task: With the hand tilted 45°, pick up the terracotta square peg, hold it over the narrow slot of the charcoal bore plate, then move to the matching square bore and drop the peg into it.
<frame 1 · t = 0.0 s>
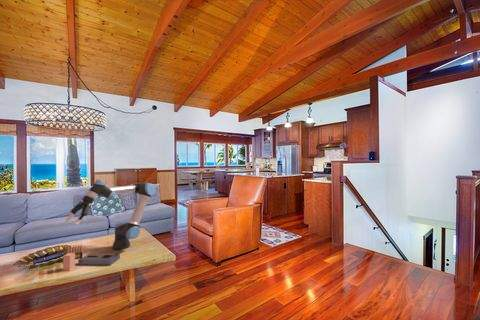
hand: (71, 222, 165), 36 cm above the table, tool tilted 35°, fingers open, 13 cm apart
bore plate: (99, 261, 180), on the table
ammunition clip: (74, 259, 185), on the table
square peg: (69, 268, 167), on the table
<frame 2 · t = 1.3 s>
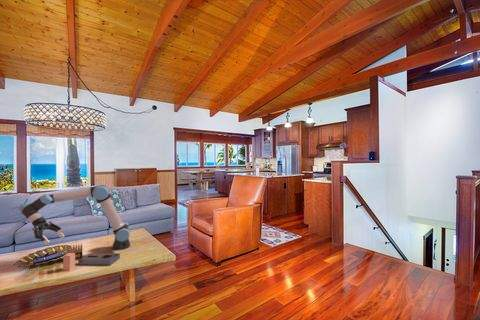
hand: (56, 240, 168), 22 cm above the table, tool tilted 45°, fingers open, 13 cm apart
nothing on the table moved.
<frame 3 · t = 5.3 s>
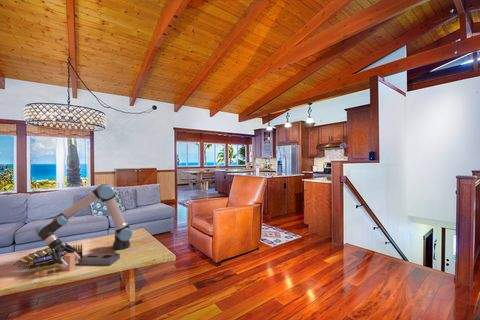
hand: (72, 262, 168), 5 cm above the table, tool tilted 45°, fingers open, 12 cm apart
nothing on the table moved.
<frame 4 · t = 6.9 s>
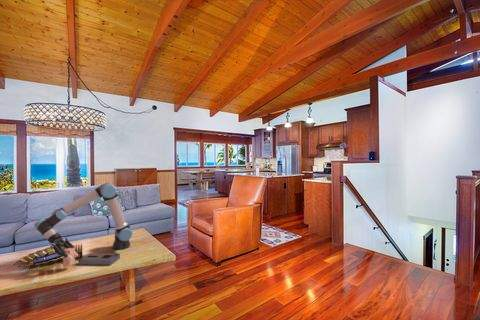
hand: (73, 257, 167), 8 cm above the table, tool tilted 45°, fingers closed on square peg, 5 cm apart
square peg: (69, 263, 167), point 4 cm above the table, touching gripper
everything else where it was.
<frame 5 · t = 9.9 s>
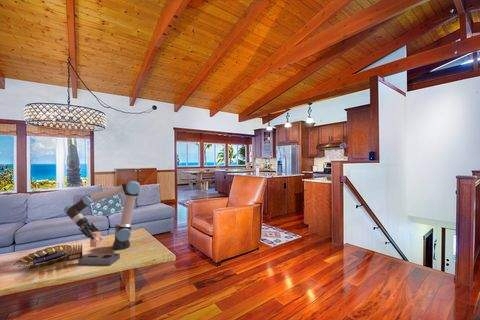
hand: (99, 240, 180), 17 cm above the table, tool tilted 45°, fingers closed on square peg, 5 cm apart
square peg: (95, 246, 180), point 13 cm above the table, touching gripper
everything else where it was.
when the fingers open (9 cm above the table, at t = 12.9 s): square peg drops 4 cm, resting in bore plate.
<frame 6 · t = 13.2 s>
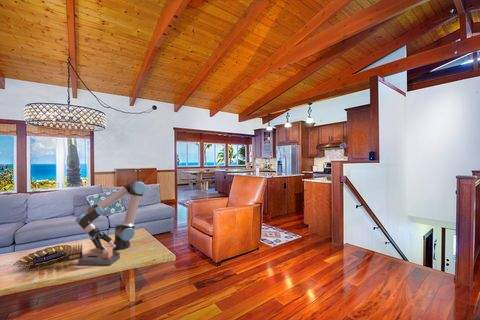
hand: (110, 249, 180), 10 cm above the table, tool tilted 45°, fingers open, 9 cm apart
square peg: (107, 261, 180), resting in bore plate
everything else where it was.
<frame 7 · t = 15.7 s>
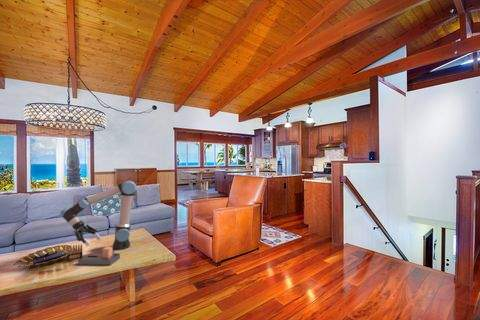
hand: (94, 242, 181), 16 cm above the table, tool tilted 45°, fingers open, 13 cm apart
nothing on the table moved.
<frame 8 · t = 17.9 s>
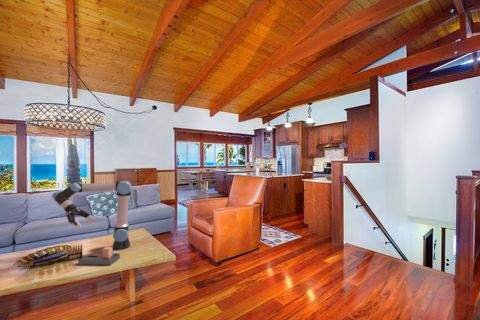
hand: (86, 225, 181), 30 cm above the table, tool tilted 45°, fingers open, 13 cm apart
nothing on the table moved.
at the end: square peg 0.4 cm from the target spot on the bore plate, point 0.0 cm above the bore plate's base; square peg tilted 0°; the gripper is holding nothing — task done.
